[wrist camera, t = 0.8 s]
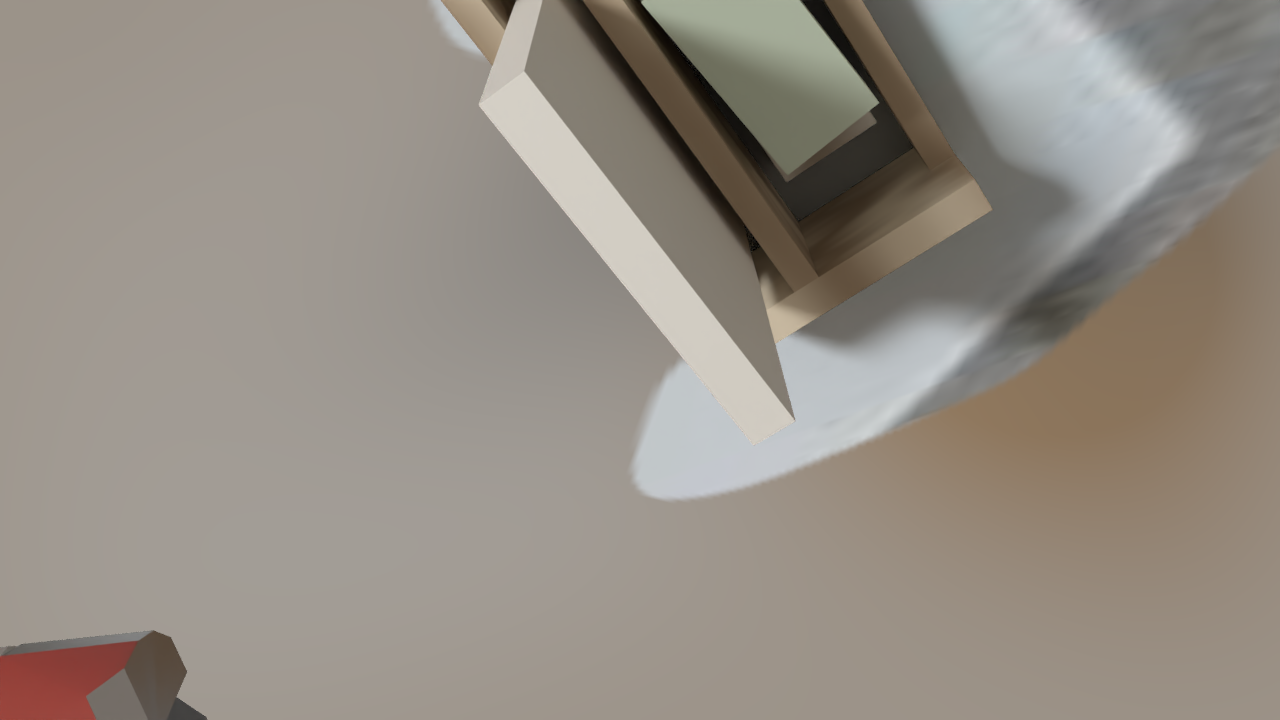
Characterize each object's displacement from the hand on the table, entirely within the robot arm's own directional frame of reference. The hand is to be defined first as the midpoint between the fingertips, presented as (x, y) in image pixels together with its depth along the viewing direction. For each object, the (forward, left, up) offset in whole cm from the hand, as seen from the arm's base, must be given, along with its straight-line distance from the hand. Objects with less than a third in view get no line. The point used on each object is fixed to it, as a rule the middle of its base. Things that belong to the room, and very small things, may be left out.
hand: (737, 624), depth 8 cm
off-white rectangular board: (+5, +7, -42) cm, 43 cm away
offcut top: (-1, +7, -40) cm, 40 cm away
